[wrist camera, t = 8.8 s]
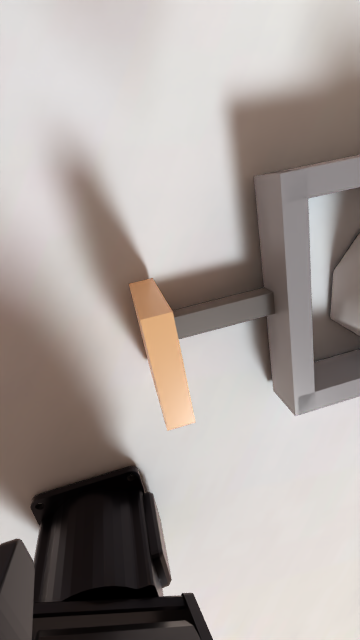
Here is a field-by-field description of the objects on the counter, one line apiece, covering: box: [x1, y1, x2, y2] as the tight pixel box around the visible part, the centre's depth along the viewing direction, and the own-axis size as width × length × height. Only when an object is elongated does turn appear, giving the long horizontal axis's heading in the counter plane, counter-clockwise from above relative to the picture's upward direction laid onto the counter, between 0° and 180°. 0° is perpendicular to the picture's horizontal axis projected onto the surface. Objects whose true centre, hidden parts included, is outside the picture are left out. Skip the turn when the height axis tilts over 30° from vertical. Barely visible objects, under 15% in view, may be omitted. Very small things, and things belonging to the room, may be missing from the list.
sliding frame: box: [129, 155, 360, 431], centre depth 17 cm, size 19×12×5 cm, turn 101°
